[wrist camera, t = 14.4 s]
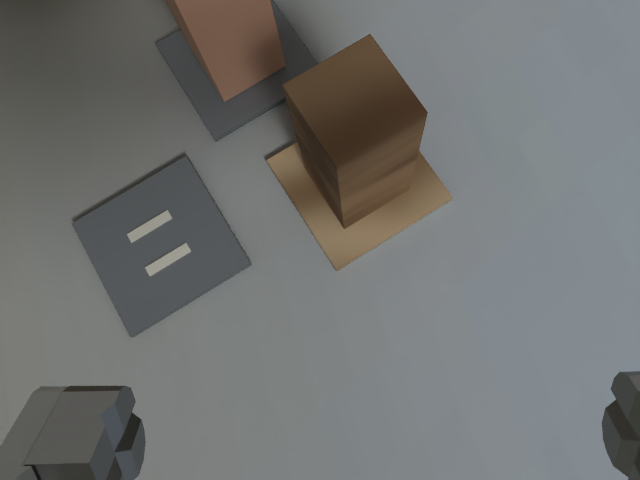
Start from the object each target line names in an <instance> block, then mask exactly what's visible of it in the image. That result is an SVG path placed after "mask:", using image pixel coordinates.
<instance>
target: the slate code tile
mask: <svg viewBox="0 0 640 480" xmlns="http://www.w3.org/2000/svg"><path fill="white" fill-rule="evenodd" d="M72 225H73V227H74V229H75V231H76V233H77V235H78V237H79V239H80V241H81V242H82V244H83V246H84V248H85V250H86V252H87V254H88V256H89V258H90V260H91V262H92V264H93V266H94V268H95V270H96V272H97V273H98V275H99V277H100V279H101V281H102V283H103V285H104V287H105V289H106V291H107V293H108V295H109V297H110V299H111V301H112V303H113V304H114V306H115V308H116V310H117V312H118V314H119V316H120V318H121V320H122V322H123V324H124V326H125V328H126V330H127V332H128V334H129V335H130V337H135V336H136V335H138V334H139V333H141V332H143V331H144V330H146V329H148V328H149V327H151V326H152V325H154V324H156V323H157V322H159V321H161V320H162V319H164V318H165V317H167V316H169V315H170V314H172V313H174V312H175V311H177V310H179V309H180V308H182V307H183V306H185V305H187V304H188V303H190V302H192V301H193V300H195V299H196V298H198V297H200V296H201V295H203V294H205V293H206V292H208V291H210V290H211V289H213V288H214V287H216V286H218V285H219V284H221V283H223V282H224V281H226V280H227V279H229V278H231V277H232V276H234V275H236V274H237V273H239V272H240V271H242V270H244V269H245V268H247V267H249V266H250V265H252V264H251V263H250V261H249V259H248V258H247V256H246V254H245V253H244V251H243V249H242V248H241V246H240V244H239V243H238V241H237V239H236V238H235V236H234V234H233V233H232V231H231V229H230V228H229V226H228V224H227V222H226V221H225V219H224V217H223V216H222V214H221V212H220V211H219V209H218V207H217V206H216V204H215V202H214V201H213V199H212V197H211V196H210V194H209V192H208V191H207V189H206V187H205V186H204V184H203V182H202V181H201V179H200V177H199V176H198V174H197V172H196V171H195V169H194V167H193V166H192V164H191V162H190V160H189V159H188V157H187V156H185V157H183V158H181V159H179V160H178V161H176V162H174V163H173V164H171V165H169V166H168V167H166V168H164V169H163V170H161V171H159V172H158V173H156V174H154V175H153V176H151V177H149V178H147V179H146V180H144V181H142V182H141V183H139V184H137V185H136V186H134V187H132V188H131V189H129V190H127V191H126V192H124V193H122V194H120V195H119V196H117V197H115V198H114V199H112V200H110V201H109V202H107V203H105V204H104V205H102V206H100V207H99V208H97V209H95V210H94V211H92V212H90V213H88V214H87V215H85V216H83V217H82V218H80V219H78V220H77V221H75V222H73V223H72Z"/></svg>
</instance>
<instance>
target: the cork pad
mask: <svg viewBox="0 0 640 480" xmlns="http://www.w3.org/2000/svg"><path fill="white" fill-rule="evenodd" d="M266 161H267V163H268V165H269V166H270V168H271V169H272V171H273V172H274V174H275V176H276V177H277V179H278V180H279V182H280V183H281V185H282V187H283V188H284V190H285V191H286V193H287V194H288V196H289V198H290V199H291V201H292V202H293V204H294V205H295V207H296V209H297V210H298V212H299V213H300V215H301V216H302V218H303V219H304V221H305V223H306V224H307V226H308V227H309V229H310V230H311V232H312V234H313V235H314V237H315V238H316V240H317V241H318V243H319V245H320V246H321V248H322V249H323V251H324V252H325V254H326V256H327V257H328V259H329V260H330V262H331V263H332V265H333V267H334V268H335V270H336V271H338V270H339V269H341V268H342V267H344V266H346V265H347V264H349V263H350V262H352V261H354V260H355V259H357V258H358V257H360V256H362V255H363V254H365V253H366V252H368V251H370V250H371V249H373V248H375V247H376V246H378V245H379V244H381V243H383V242H384V241H386V240H387V239H389V238H391V237H392V236H394V235H395V234H397V233H399V232H400V231H402V230H404V229H405V228H407V227H408V226H410V225H412V224H413V223H415V222H416V221H418V220H420V219H421V218H423V217H424V216H426V215H428V214H429V213H431V212H432V211H434V210H436V209H437V208H439V207H441V206H442V205H444V204H445V203H447V202H449V201H450V200H452V198H453V197H452V196H451V194H450V193H449V192H448V190H447V189H446V187H445V186H444V185H443V183H442V182H441V181H440V179H439V178H438V176H437V175H436V174H435V172H434V171H433V169H432V168H431V167H430V165H429V164H428V163H427V161H426V160H425V158H424V157H423V156H422V154H421V153H420V151H418V156H417V160H416V164H415V169H414V173H413V177H412V181H411V186H410V190H409V191H407V192H405V193H404V194H402V195H400V196H399V197H397V198H395V199H394V200H392V201H390V202H389V203H387V204H385V205H384V206H382V207H380V208H379V209H377V210H376V211H374V212H372V213H371V214H369V215H367V216H366V217H364V218H362V219H361V220H359V221H357V222H356V223H354V224H352V225H351V226H349V227H348V228H346V229H344V228H343V227H342V225H341V224H340V222H339V220H338V219H337V217H336V216H335V214H334V213H333V211H332V210H331V208H330V206H329V205H328V203H327V202H326V200H325V199H324V197H323V196H322V194H321V193H320V191H319V189H318V188H317V186H316V185H315V183H314V182H313V180H312V179H311V177H310V175H309V174H308V172H307V171H306V169H305V167H304V163H303V160H302V156H301V152H300V148H299V145H298V142H296V143H294V144H293V145H291V146H289V147H288V148H286V149H284V150H283V151H281V152H279V153H278V154H276V155H274V156H273V157H271V158H269V159H268V160H266Z"/></svg>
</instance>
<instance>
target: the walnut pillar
mask: <svg viewBox="0 0 640 480" xmlns="http://www.w3.org/2000/svg"><path fill="white" fill-rule="evenodd" d="M282 86H283V89H284V93H285V97H286V100H287V104H288V108H289V112H290V115H291V119H292V123H293V126H294V130H295V134H296V137H297V141H298V145H299V148H300V152H301V156H302V160H303V163H304V167H305V169H306V171H307V172H308V174H309V175H310V177H311V179H312V180H313V182H314V183H315V185H316V186H317V188H318V189H319V191H320V193H321V194H322V196H323V197H324V199H325V200H326V202H327V203H328V205H329V206H330V208H331V210H332V211H333V213H334V214H335V216H336V217H337V219H338V220H339V222H340V224H341V225H342V227H343V228H344V229H346V228H348V227H349V226H351V225H352V224H354V223H356V222H357V221H359V220H361V219H362V218H364V217H366V216H367V215H369V214H371V213H372V212H374V211H376V210H377V209H379V208H380V207H382V206H384V205H385V204H387V203H389V202H390V201H392V200H394V199H395V198H397V197H399V196H400V195H402V194H404V193H405V192H407V191H409V190H410V186H411V181H412V177H413V173H414V169H415V164H416V160H417V156H418V151H419V147H420V143H421V139H422V134H423V130H424V126H425V121H426V117H427V113H428V112H427V111H426V109H425V108H424V107H423V105H422V104H421V103H420V101H419V100H418V98H417V97H416V96H415V94H414V93H413V92H412V90H411V89H410V88H409V86H408V85H407V83H406V82H405V81H404V79H403V78H402V77H401V75H400V74H399V73H398V71H397V70H396V68H395V67H394V66H393V64H392V63H391V62H390V60H389V59H388V58H387V56H386V55H385V53H384V52H383V51H382V49H381V48H380V47H379V45H378V44H377V43H376V41H375V40H374V38H373V37H372V36H371V34H369V35H367V36H365V37H364V38H362V39H360V40H359V41H357V42H355V43H353V44H352V45H350V46H348V47H347V48H345V49H343V50H341V51H340V52H338V53H336V54H335V55H333V56H331V57H329V58H328V59H326V60H324V61H323V62H321V63H319V64H317V65H316V66H314V67H312V68H311V69H309V70H307V71H305V72H304V73H302V74H300V75H299V76H297V77H295V78H293V79H292V80H290V81H288V82H287V83H285V84H283V85H282Z"/></svg>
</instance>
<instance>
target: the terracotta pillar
mask: <svg viewBox="0 0 640 480" xmlns="http://www.w3.org/2000/svg"><path fill="white" fill-rule="evenodd" d="M166 2H167V4H168V6H169V8H170V10H171V11H172V13H173V15H174V17H175V19H176V21H177V23H178V25H179V27H180V29H181V31H182V33H183V35H184V37H185V39H186V41H187V43H188V45H189V47H190V48H191V50H192V52H193V53H194V55H195V56H196V58H197V60H198V61H199V63H200V64H201V66H202V67H203V69H204V71H205V72H206V74H207V75H208V77H209V78H210V80H211V82H212V83H213V85H214V86H215V88H216V89H217V91H218V93H219V94H220V96H221V97H222V99H223V101H224V102H226V101H227V100H229V99H231V98H232V97H234V96H236V95H238V94H239V93H241V92H243V91H244V90H246V89H248V88H249V87H251V86H253V85H255V84H256V83H258V82H260V81H261V80H263V79H265V78H266V77H268V76H270V75H272V74H273V73H275V72H277V71H278V70H280V69H282V68H283V67H285V66H286V63H285V59H284V55H283V51H282V47H281V43H280V39H279V35H278V31H277V26H276V22H275V18H274V14H273V10H272V6H271V2H270V0H166Z"/></svg>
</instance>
